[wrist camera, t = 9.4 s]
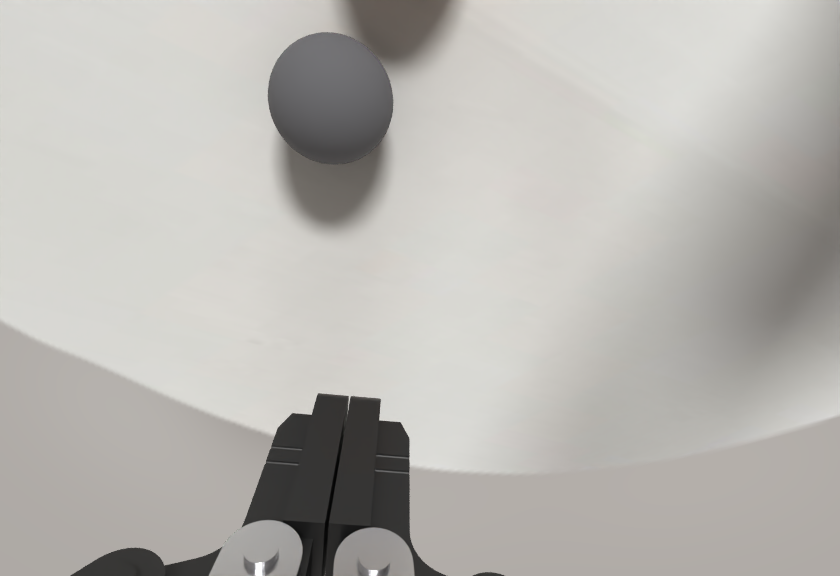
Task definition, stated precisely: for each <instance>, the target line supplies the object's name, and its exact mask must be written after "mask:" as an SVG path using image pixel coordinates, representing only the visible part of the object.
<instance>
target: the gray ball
mask: <svg viewBox="0 0 840 576" xmlns="http://www.w3.org/2000/svg"><path fill="white" fill-rule="evenodd" d="M268 103H269V109H270V113H271V116H272V119H273V122H274V124H275V126H276V128H277V130H278V131H279V133H280V134H281V136H282V137H283V138H284V140H285V141H286V142H287V143H288V144H289V145H290V146H291V147H292V148H293V149H294V150H296V151H297V152H298V153H300V154H301V155H303V156H305V157H307V158H309V159H311V160H314V161H317V162H320V163H326V164H344V163H349V162H352V161H355V160H358V159H360V158H362V157H363V156H365V155H367V154H368V153H369V152H371V151H372V150H373V149H374V148H375V147H376V146H377V145H378V144H379V143H380V141H381V140H382V138H383V137H384V135H385V134H386V132H387V129H388V127H389V124H390V121H391V117H392V112H393V94H392V88H391V84H390V80H389V78H388V75H387V73H386V71H385V69H384V67H383V65H382V64H381V62H380V60H379V59H378V58H377V57H376V56H375V54H374V53H373V52H372V51H370V50H369V49H368V48H367V47H366V46H365V45H363V44H362V43H360V42H359V41H357V40H355V39H353V38H351V37H348V36H345V35H342V34H338V33H328V32H326V33H316V34H311V35H308V36H306V37H303V38H301V39H299V40H297V41H296V42H294V43H293V44H291V45H290V46H289V47H288V48H287V49H286V50H285V51H284V52H283V53H282V54H281V56H280V57H279V58H278V60H277V62H276V64H275V65H274V68H273V70H272V73H271V76H270V80H269V87H268Z"/></svg>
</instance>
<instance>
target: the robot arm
mask: <svg viewBox="0 0 840 576" xmlns="http://www.w3.org/2000/svg"><path fill="white" fill-rule="evenodd" d="M348 401H349V396H343V395H331V394H320V393H318V395H317V398H316V402H315V405H314V409H313V413H312V415H307V414H295V413H292V414H291V415H290V416H289V417H288V418H287V419H286V420H285V421H284V422H283V423H282V424H281V425H280V426H279V427H278V429H277V432H276V435H275V437H274V440H273V443H272V447H271V449H270V451H269V455H268V457H267V460H266V464H265V465H264V469H263V471H262V474H261V477H260V479H259V483H258V485H257V488H256V491H255V494H254V496H253V499H252V502H251V505H250V507H249V510H248V513H247V516H246V519H245V521H244V523H243V526H242V527H241V529H239V530H237V531H236V532H234V534H232V535H231V536H230V537H229V538H228V540H227V541H226V542H225V544H224V546H223V547H222V548H220V549H218V550H217V551H215V552H213V553H211V554H208V555H206V556H203V557H199V558H196V559H192V560H187V561H183V562H179V563H174V564H170V565H165V566H164V564H163V562H162V560H161V559H160V557H159V556H158V555H156V554H155V553H153V552H152V551H150V550H146V549H142V548H127V549H121V550H117V551H114V552H111V553H109V554H106V555H104V556H102V557H100V558H98V559H97V560H95V561H93V562H92V563H90V564H89V565H87V566H85V567H84V568H82V569H81V570H79V571H77V572H76V573H74V574H72V575H71V576H446V575H443V574H441V573H439V572H437V571H435V570H433V569H432V568H430V567H429V566H428V565H427V564H425V563H424V562H423V561H422V560H421V558H420V557H419V556H418V555H417V553H416V552H415V550H414V548H413V545H412V543H411V540H410V531H409V530H410V529H409V528H410V526H409V437H408V435H407V433H406V431H405V430H404V428H403V426H402V424H401V422H390V421H379V414H380V402H381V399H378V398H367V397H355V396H351V398H350V404H349V410H348ZM347 414H348V415H347ZM325 571H326V572H325ZM473 576H504V575H501V574H497V573H488V572H485V573H479V574H476V575H473Z"/></svg>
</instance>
